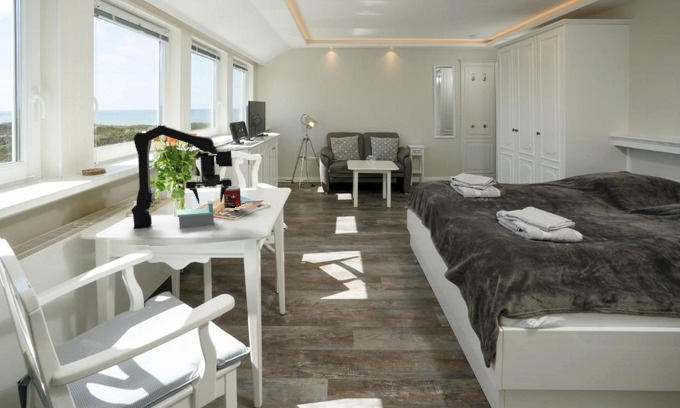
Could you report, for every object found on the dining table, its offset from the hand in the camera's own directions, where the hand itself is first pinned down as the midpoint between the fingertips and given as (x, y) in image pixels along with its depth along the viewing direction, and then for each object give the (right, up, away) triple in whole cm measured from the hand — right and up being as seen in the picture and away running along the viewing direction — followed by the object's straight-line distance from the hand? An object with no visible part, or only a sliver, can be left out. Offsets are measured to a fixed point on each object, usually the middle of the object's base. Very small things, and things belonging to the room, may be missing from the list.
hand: (209, 203), depth 206 cm
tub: (-6, -9, 0) cm, 11 cm away
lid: (-6, -5, -1) cm, 8 cm away
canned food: (+4, -4, +28) cm, 28 cm away
